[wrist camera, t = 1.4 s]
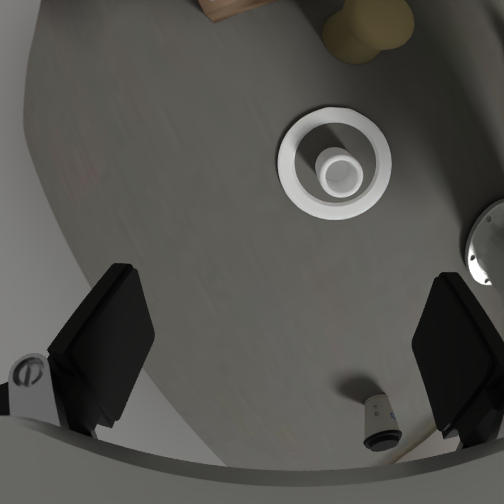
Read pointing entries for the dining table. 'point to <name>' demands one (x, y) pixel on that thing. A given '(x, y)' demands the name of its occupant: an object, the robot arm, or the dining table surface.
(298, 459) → the dining table surface
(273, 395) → the dining table surface
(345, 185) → the candle holder
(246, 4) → the wooden framed mirror
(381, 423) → the coffee cup
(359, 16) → the cork
